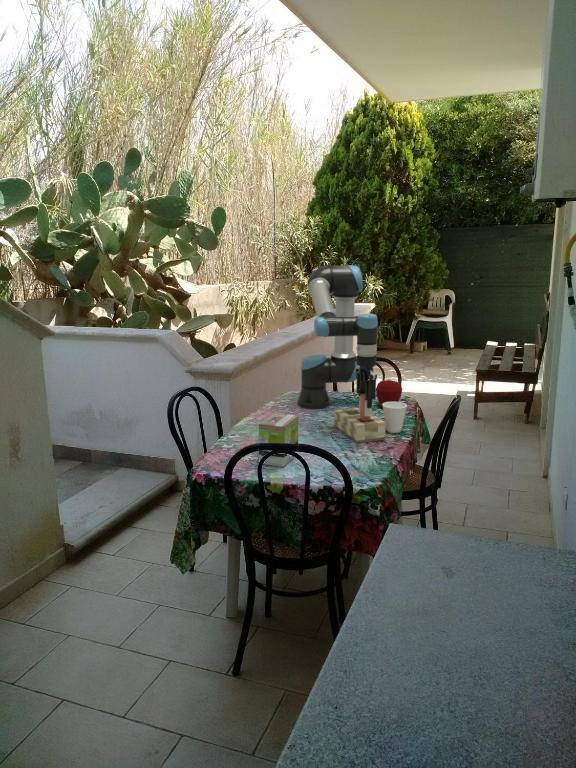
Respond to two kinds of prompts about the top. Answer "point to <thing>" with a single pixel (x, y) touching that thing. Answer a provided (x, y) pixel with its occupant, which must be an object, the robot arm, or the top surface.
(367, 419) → the peg
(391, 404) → the cup
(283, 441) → the tea box
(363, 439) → the hole block
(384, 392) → the apple
